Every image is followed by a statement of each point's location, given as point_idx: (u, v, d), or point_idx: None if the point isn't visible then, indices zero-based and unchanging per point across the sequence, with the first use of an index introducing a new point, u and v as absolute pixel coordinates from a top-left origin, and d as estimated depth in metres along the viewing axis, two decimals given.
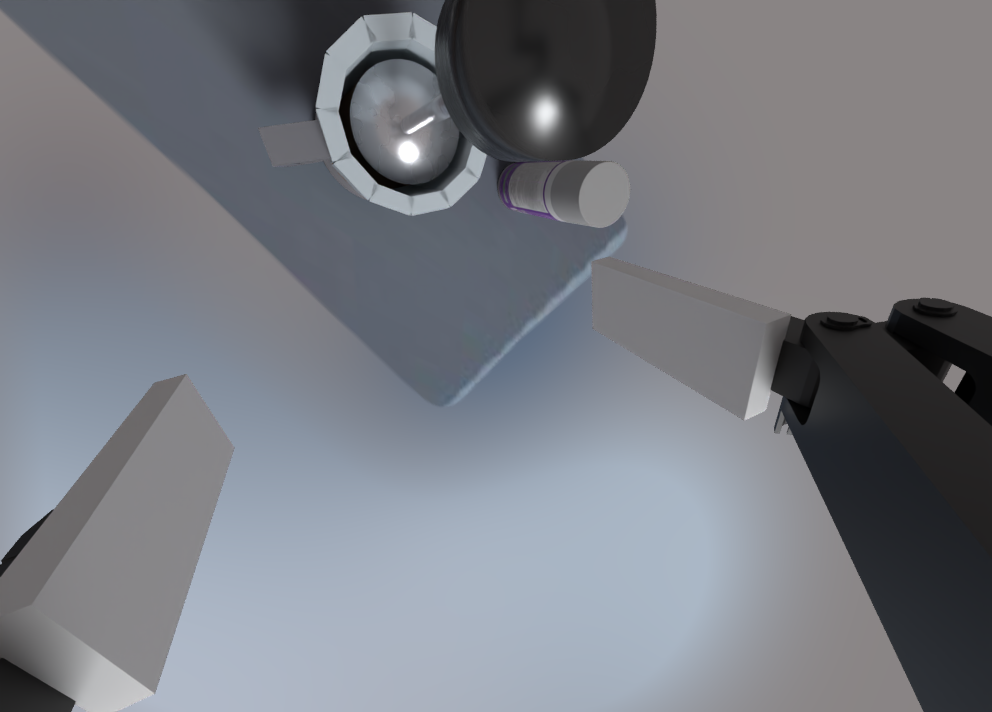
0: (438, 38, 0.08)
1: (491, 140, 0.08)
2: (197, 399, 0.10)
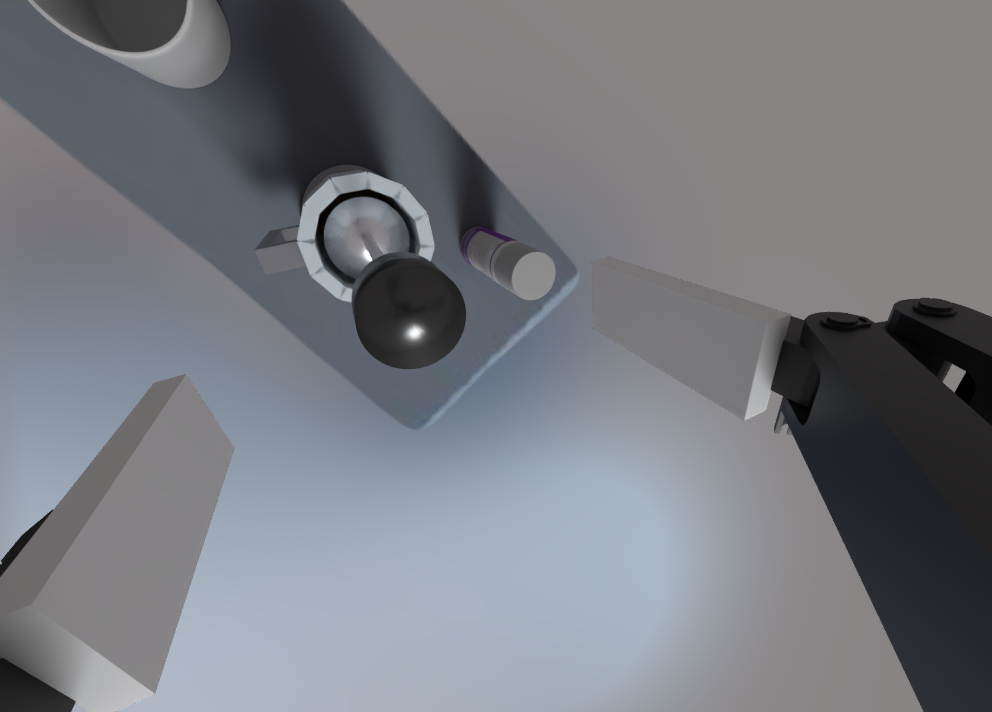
0: (352, 301, 0.15)
1: None
2: (196, 399, 0.10)
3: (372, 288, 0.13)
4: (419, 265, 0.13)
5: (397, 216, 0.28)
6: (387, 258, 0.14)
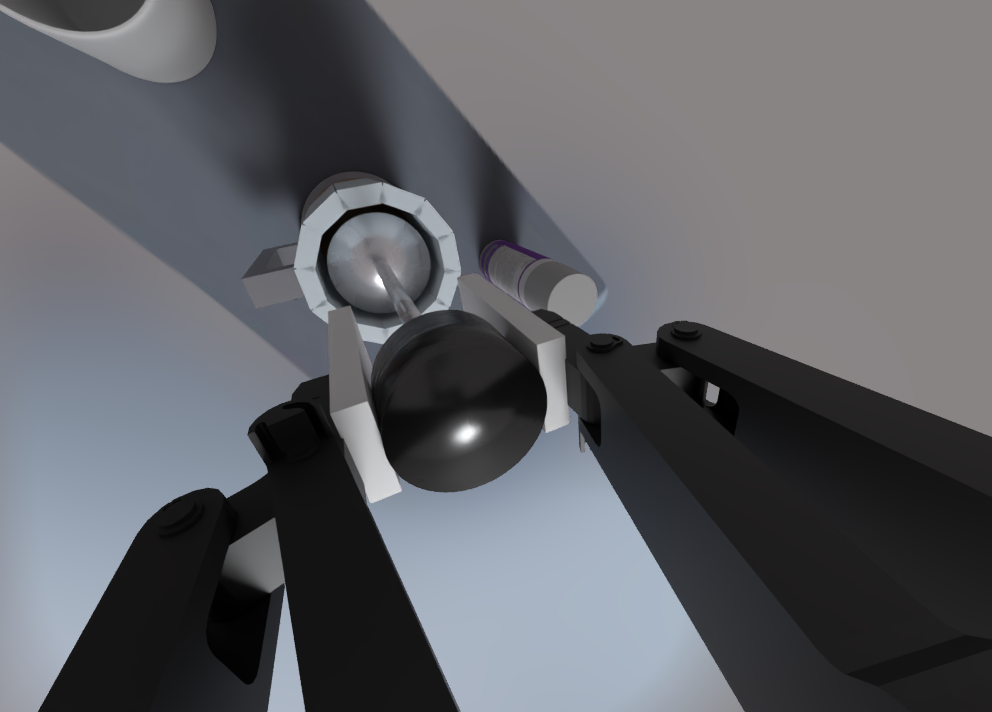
0: (372, 386, 0.10)
1: None
2: (357, 325, 0.13)
3: (411, 385, 0.08)
4: (485, 344, 0.08)
5: (416, 235, 0.23)
6: (428, 325, 0.09)
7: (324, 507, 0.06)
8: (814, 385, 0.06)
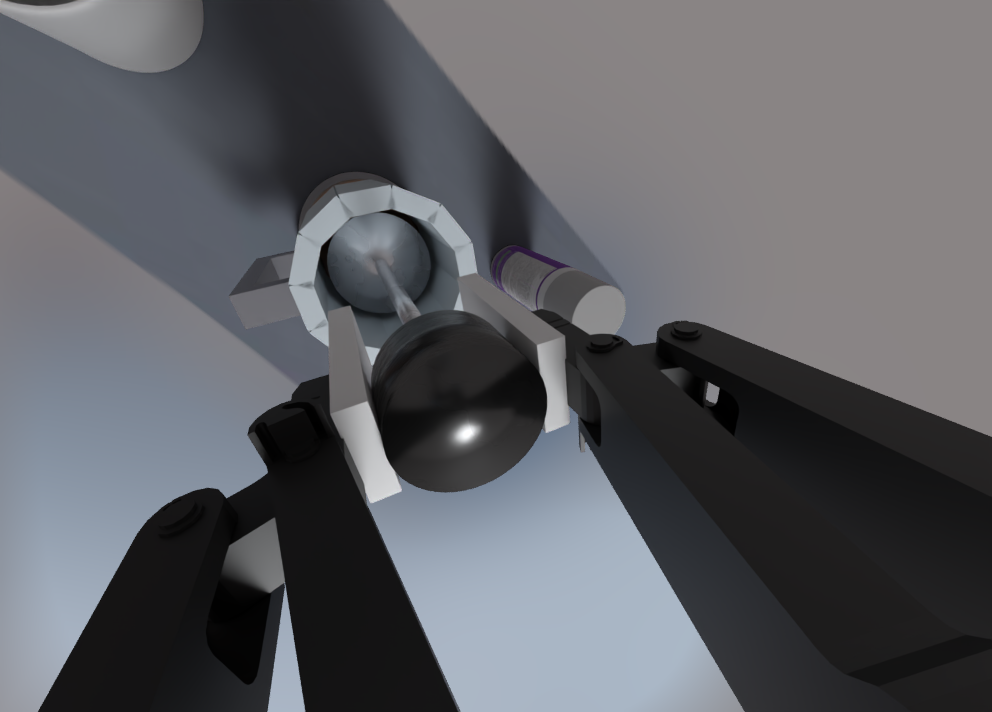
0: (372, 386, 0.10)
1: None
2: (357, 325, 0.13)
3: (411, 385, 0.08)
4: (485, 344, 0.08)
5: (416, 235, 0.23)
6: (428, 325, 0.09)
7: (324, 507, 0.06)
8: (815, 385, 0.06)
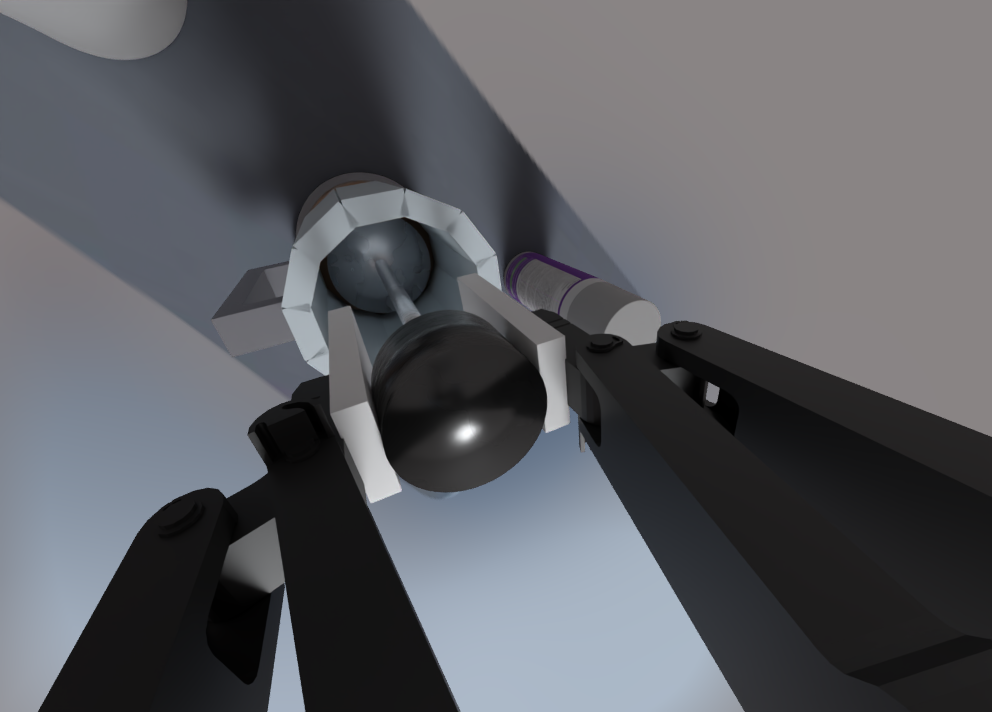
0: (372, 386, 0.10)
1: None
2: (356, 325, 0.13)
3: (411, 385, 0.08)
4: (485, 344, 0.08)
5: (416, 235, 0.23)
6: (428, 325, 0.09)
7: (324, 507, 0.06)
8: (815, 385, 0.06)
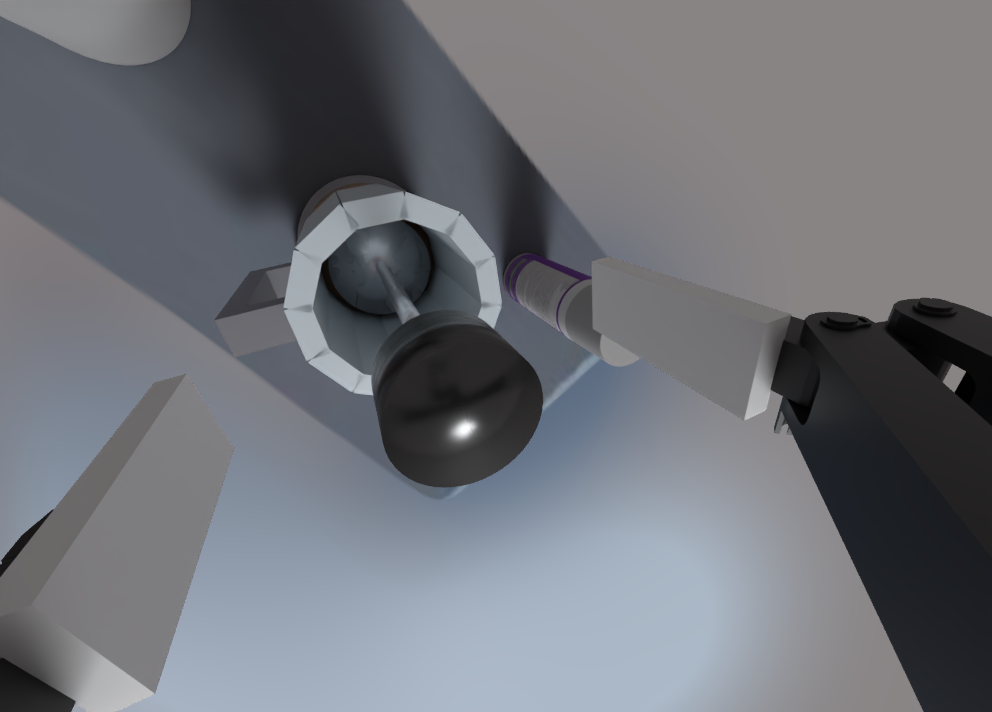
0: (372, 383, 0.10)
1: None
2: (196, 399, 0.10)
3: (410, 382, 0.08)
4: (481, 342, 0.08)
5: (416, 237, 0.23)
6: (427, 324, 0.09)
7: None
8: None
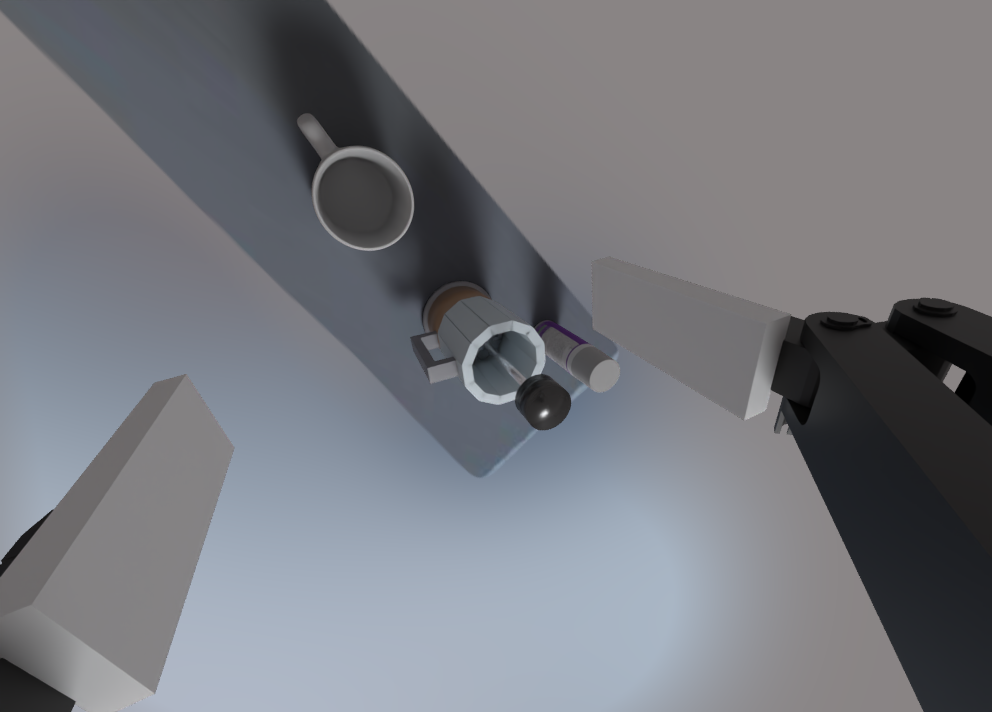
0: (517, 397, 0.32)
1: None
2: (196, 399, 0.10)
3: (537, 397, 0.30)
4: (556, 386, 0.30)
5: None
6: (537, 379, 0.31)
7: None
8: None
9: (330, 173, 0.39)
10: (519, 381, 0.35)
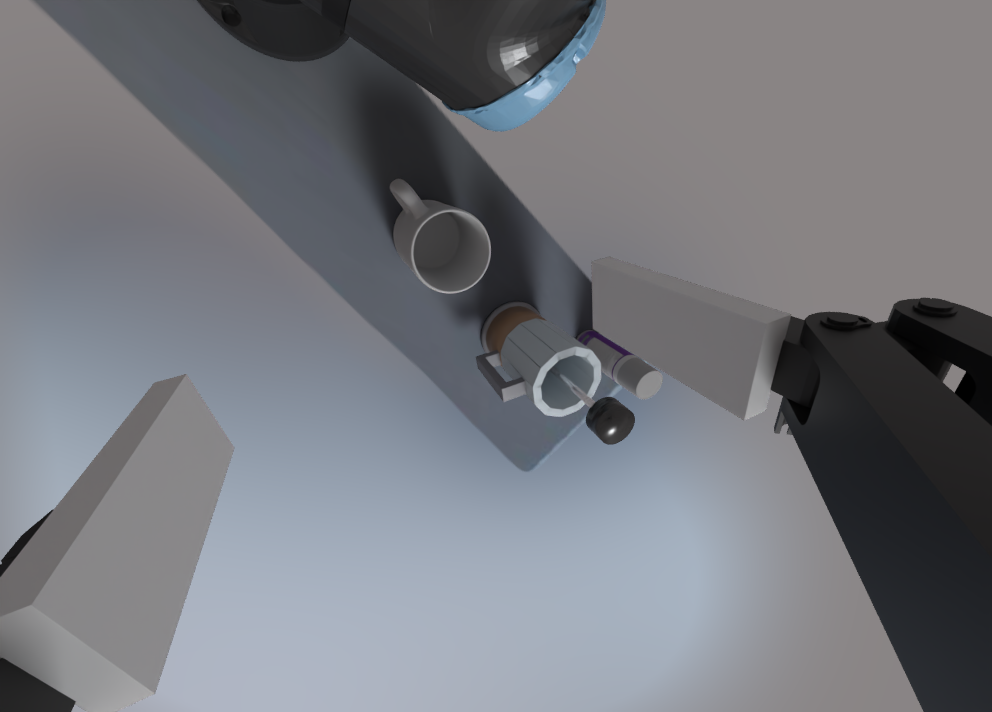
0: (588, 417, 0.38)
1: None
2: (196, 399, 0.10)
3: (608, 418, 0.36)
4: (623, 409, 0.36)
5: None
6: (605, 402, 0.37)
7: None
8: None
9: None
10: (585, 400, 0.41)
